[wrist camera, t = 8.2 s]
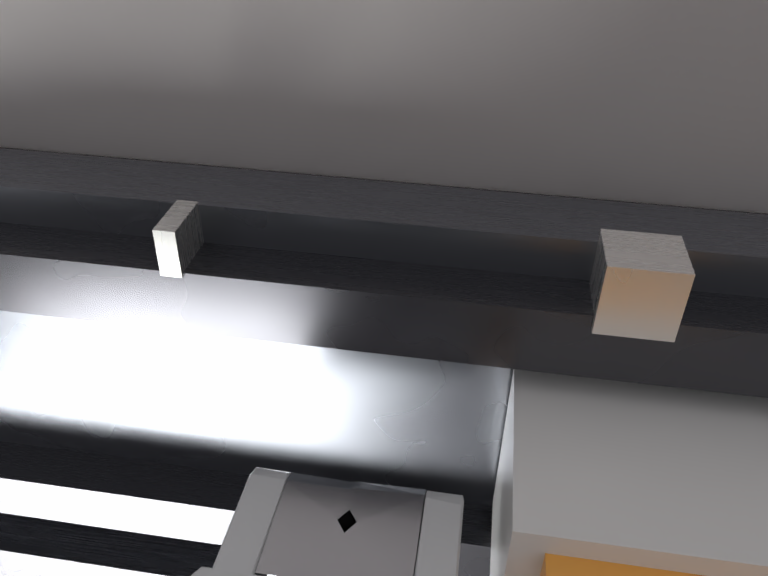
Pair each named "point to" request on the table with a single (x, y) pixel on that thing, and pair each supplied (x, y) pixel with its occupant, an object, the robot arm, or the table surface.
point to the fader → (629, 480)
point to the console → (318, 340)
